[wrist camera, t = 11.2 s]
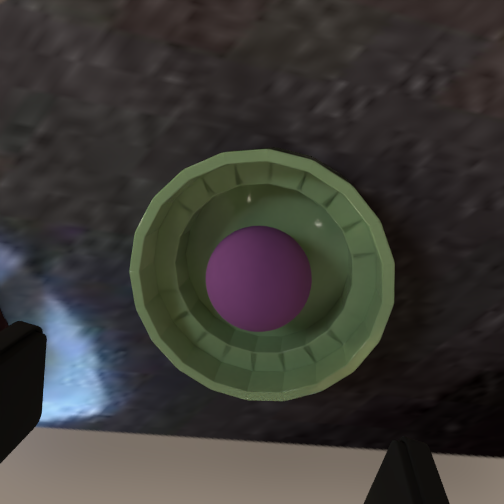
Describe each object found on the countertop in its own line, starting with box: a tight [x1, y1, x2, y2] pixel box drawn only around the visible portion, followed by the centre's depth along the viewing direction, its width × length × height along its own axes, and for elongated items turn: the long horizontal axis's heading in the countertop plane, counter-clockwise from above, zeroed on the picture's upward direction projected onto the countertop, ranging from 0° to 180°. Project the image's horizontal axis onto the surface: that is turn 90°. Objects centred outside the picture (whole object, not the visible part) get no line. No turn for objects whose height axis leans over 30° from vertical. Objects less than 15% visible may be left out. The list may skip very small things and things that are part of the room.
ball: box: [206, 226, 312, 332], centre depth 22 cm, size 6×6×6 cm
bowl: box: [129, 147, 395, 401], centre depth 23 cm, size 14×14×5 cm
